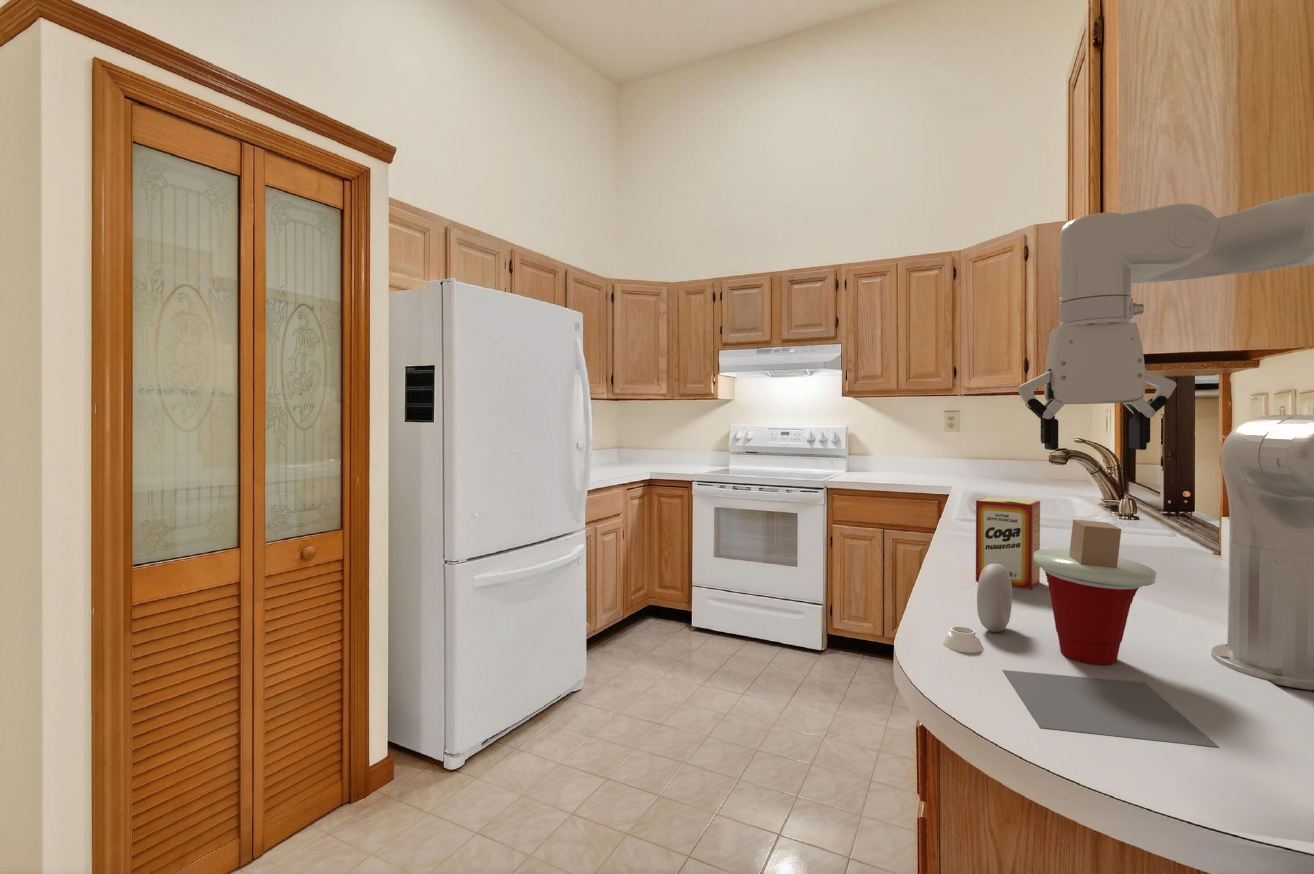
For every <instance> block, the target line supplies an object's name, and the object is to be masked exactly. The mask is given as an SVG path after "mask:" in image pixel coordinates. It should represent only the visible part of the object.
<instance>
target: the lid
mask: <svg viewBox="0 0 1314 874" xmlns="http://www.w3.org/2000/svg"><path fill="white" fill-rule="evenodd" d="M1070 537H1071V538H1070V546H1069V549H1068V548H1040V550H1037V551H1035V552H1034V558H1033V561H1034V563H1035V564H1036V565H1038V566H1039V567H1040V568H1041V569H1042V570H1043V569H1046V570H1048V571H1051V572H1054V573H1057V574H1060V575H1064V576H1068V577H1071V578H1076V579H1080V580H1085V581H1090V582H1096V583H1102V584H1110V585H1119V586H1142V587H1147V586H1151V585H1153V584H1154V585H1155V584H1156V577H1157V571H1155V569H1153V568H1152V567H1149V566H1148V565H1145V564H1142V563H1139V562H1137V561H1134V560H1130V559H1126V558H1122V557H1119V554H1120V545H1121V537H1122V528H1120V527H1118V526H1115V525H1114V524H1112V523H1109V522H1106V521H1105V522H1104V521H1096V520H1095V521H1094V520H1082V519H1081V520H1080V519H1072V527H1071V536H1070Z"/></svg>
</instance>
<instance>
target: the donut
mask: <svg viewBox="0 0 1314 874" xmlns="http://www.w3.org/2000/svg"><path fill="white" fill-rule="evenodd" d="M977 582H978V581H977ZM976 589H977V591H976V610H977V616H978V618H979V621H980V623H981V625H982V626H983V627H984V628H985V629H986V630H988V631H989V632H992V633H998V632H1002V631H1003V630H1005V629H1006V628H1007V626H1008V624H1009V623H1010V620H1011V616H1012V615H1011V613H1012V608H1013V607H1012V605H1013V587H1012V584H1011V578H1010V575H1009V572H1008V571H1007V569H1006V568H1005V567H1004V566H1002V565H1000V564H989V565H987V566H986V567H984V569H983V570H982V572H981V574H980V577H979V582H978V584H977V588H976Z"/></svg>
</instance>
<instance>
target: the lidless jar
mask: <svg viewBox="0 0 1314 874" xmlns="http://www.w3.org/2000/svg"><path fill="white" fill-rule="evenodd" d="M949 629H950V631H948V632H947V633H946V636H945V637H944V639H943V641H942V644H943V647H945V648H947V649H949V650H952V651H956V652H961V653H969V654H971V653H980V652H982V651H984V649H985V648H984V645H983V644H982V642H981V639H980V638H979V636H978V635H977V633H976V630H975V629H974V628H971V627H967V626H962V625H961V626H960V625H954V626H951V627H950V628H949Z"/></svg>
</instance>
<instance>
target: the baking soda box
mask: <svg viewBox="0 0 1314 874" xmlns="http://www.w3.org/2000/svg"><path fill="white" fill-rule="evenodd" d="M1040 542H1041V500H1033V499H1025V498H1024V499H1023V498H1022V499H1021V498H1011V497H1010V498H1001V497H988V496H985V497H983V498H980V499H976V500H975V582H979V577H980V574H981V572H982V570H983V569H984V567H986V566H987V565H989V564H1000V565H1002V566H1004V567H1005V568H1006V569H1007V571H1008V572H1009V575H1010V578H1011V584H1012V588H1019V589H1025V590H1030V591H1031V590H1033V589H1034V588H1035V587H1036V586H1038V584H1040V582H1041V581H1040V579H1041V578H1040V577H1041V575H1040V571H1041V569H1040V568H1041V567H1039V566H1038V565H1036V564H1035V563H1034V561H1033V558H1034V552H1035V551H1037V550H1041V544H1040Z"/></svg>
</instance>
